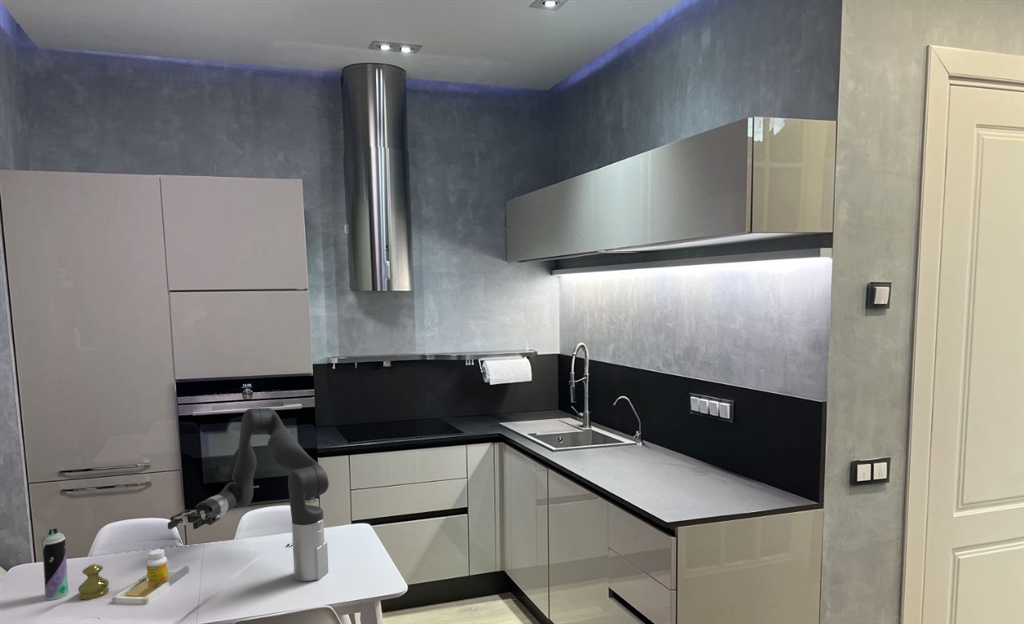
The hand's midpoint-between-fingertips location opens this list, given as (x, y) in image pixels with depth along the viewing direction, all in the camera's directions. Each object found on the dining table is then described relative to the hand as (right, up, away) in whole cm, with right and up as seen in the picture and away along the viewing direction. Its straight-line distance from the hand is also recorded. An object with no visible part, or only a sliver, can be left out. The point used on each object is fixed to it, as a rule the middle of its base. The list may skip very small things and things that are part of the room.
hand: (181, 526), depth 205 cm
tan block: (-2, -15, -20) cm, 25 cm away
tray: (-2, -15, -18) cm, 24 cm away
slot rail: (-1, -15, -8) cm, 17 cm away
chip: (-2, -15, -16) cm, 22 cm away
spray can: (-29, -16, -14) cm, 36 cm away
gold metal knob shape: (-17, -16, -17) cm, 28 cm away
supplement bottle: (-1, -14, -11) cm, 18 cm away
